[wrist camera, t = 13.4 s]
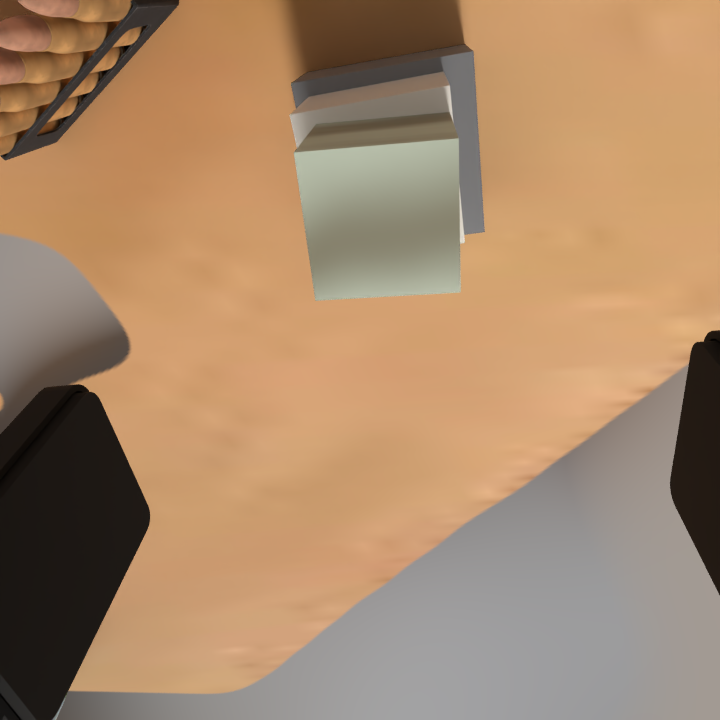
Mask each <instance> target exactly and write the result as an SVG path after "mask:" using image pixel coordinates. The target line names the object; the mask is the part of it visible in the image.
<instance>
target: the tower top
mask: <svg viewBox="0 0 720 720" xmlns="http://www.w3.org/2000/svg"><path fill="white" fill-rule="evenodd" d="M444 112H450V115H451V117H452V120H453V113H452V102H451V92H450V84H449V82H448V80H447V78H446V76H445V74H444V72H438V73H432V74H427V75H422V76H416V77H411V78H406V79H400V80H395V81H390V82H384V83H379V84H374V85H368V86H363V87H358V88H352V89H347V90H342V91H336V92H331V93H326V94H320V95H315V96H310V97H308V98H307V99H306V100H305V101H304V102H303V103H302V104H301V105H299V106H298V107H297V108H296V109H295V110H294V111H293V112H292V113H291V114H290V119H291V123H292V128H293V132H294V137H295V141H296V146H297V148H298V147H299V145H300V144H301V143H302V141H303V140H304V139H305V138H306V136H307V135H308V134H309V132H310V131H311V130H312V129H313V127H314V126H315V125H316V124H322V123H333V122H344V121H355V120H366V119H377V118H388V117H400V116H411V115H422V114H433V113H444ZM459 200H460V243H465V239H464V229H463V218H462V208H461V197H460V186H459Z"/></svg>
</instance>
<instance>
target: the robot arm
mask: <svg viewBox="0 0 720 720" xmlns="http://www.w3.org/2000/svg"><path fill="white" fill-rule="evenodd" d="M670 489H671V495H672V499H673V501H674V504H675V506H676V509H677V511H678V513H679V514H680V517H681V519H682V520H683V523H684V525H685V526H686V529H687V531H688V533H689V535H690V536H691V539H692V541H693V543H694V545H695V547H696V548H697V550H698V553H699V555H700V557H701V559H702V561H703V563H704V564H705V566H706V569H707V571H708V573H709V575H710V577H711V579H712V581H713V583H714V585H715V587H716V589H717V591H718V593H719V595H720V330H718V331H711V332H709V333H708V334H707V335H706V337H705V339H704V342H696V343H695V344H694V345H693V347H692V350H691V355H690V361H689V367H688V374H687V380H686V386H685V392H684V399H683V405H682V412H681V417H680V424H679V429H678V435H677V441H676V448H675V454H674V460H673V466H672V472H671V479H670ZM149 522H150V511H149V507H148V504H147V502H146V500H145V498H144V496H143V493H142V491H141V489H140V487H139V485H138V482H137V480H136V478H135V476H134V474H133V471H132V469H131V467H130V465H129V463H128V460H127V458H126V456H125V454H124V452H123V449H122V447H121V445H120V443H119V441H118V438H117V436H116V434H115V432H114V430H113V427H112V425H111V423H110V421H109V419H108V416H107V414H106V412H105V410H104V408H103V406H102V403H101V401H100V399H99V398H98V396H97V395H96V394H95V393H92V392H89V390H88V389H87V388H86V387H84V386H83V385H79V384H78V385H66V386H54V387H47V388H44V389H43V390H41V391H40V392H39V393H38V394H37V395H36V396H35V397H34V398H33V400H32V401H31V402H30V403H29V404H28V405H27V406H26V407H25V408H24V409H23V411H21V413H20V414H19V415H18V416H17V417H16V418H15V419H14V420H13V421H12V422H11V423H10V425H9V426H8V427H7V428H6V429H5V430H4V431H3V432H2V433H1V434H0V720H52V719H53V718H54V717H55V715H56V714H57V712H58V710H59V708H60V706H61V704H62V702H63V700H64V698H65V696H66V694H67V692H68V690H69V688H70V686H71V684H72V682H73V680H74V678H75V676H76V674H77V672H78V670H79V668H80V666H81V664H82V662H83V660H84V658H85V656H86V653H87V651H88V649H89V647H90V645H91V643H92V641H93V639H94V637H95V635H96V633H97V631H98V629H99V627H100V625H101V623H102V621H103V619H104V617H105V615H106V613H107V611H108V609H109V607H110V605H111V603H112V601H113V599H114V596H115V594H116V592H117V590H118V588H119V586H120V584H121V582H122V580H123V578H124V576H125V574H126V572H127V570H128V568H129V566H130V564H131V562H132V560H133V558H134V556H135V554H136V552H137V550H138V548H139V546H140V544H141V542H142V540H143V537H144V535H145V533H146V531H147V529H148V526H149Z"/></svg>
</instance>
